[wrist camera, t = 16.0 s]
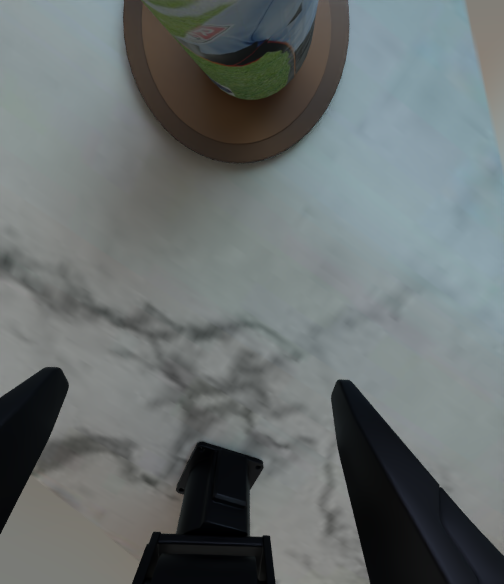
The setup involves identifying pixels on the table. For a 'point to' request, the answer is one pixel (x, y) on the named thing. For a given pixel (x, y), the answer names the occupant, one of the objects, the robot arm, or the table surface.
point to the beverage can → (242, 40)
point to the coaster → (223, 107)
